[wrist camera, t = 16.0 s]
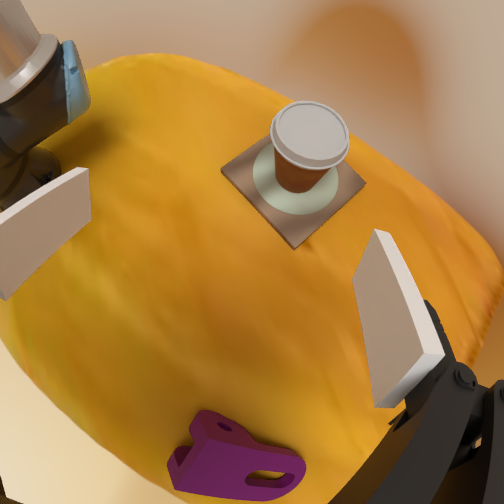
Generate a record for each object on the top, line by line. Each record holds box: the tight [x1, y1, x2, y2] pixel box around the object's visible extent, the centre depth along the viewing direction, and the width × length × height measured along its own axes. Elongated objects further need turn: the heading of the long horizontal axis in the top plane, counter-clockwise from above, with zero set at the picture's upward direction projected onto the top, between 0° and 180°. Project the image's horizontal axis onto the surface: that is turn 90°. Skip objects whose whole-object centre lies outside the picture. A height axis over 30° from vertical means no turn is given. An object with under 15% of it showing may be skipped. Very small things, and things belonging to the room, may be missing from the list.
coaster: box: [221, 134, 366, 250], centre depth 43 cm, size 16×16×1 cm
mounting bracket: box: [167, 410, 306, 501], centre depth 33 cm, size 10×8×18 cm
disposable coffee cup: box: [270, 101, 350, 193], centre depth 36 cm, size 10×10×12 cm
